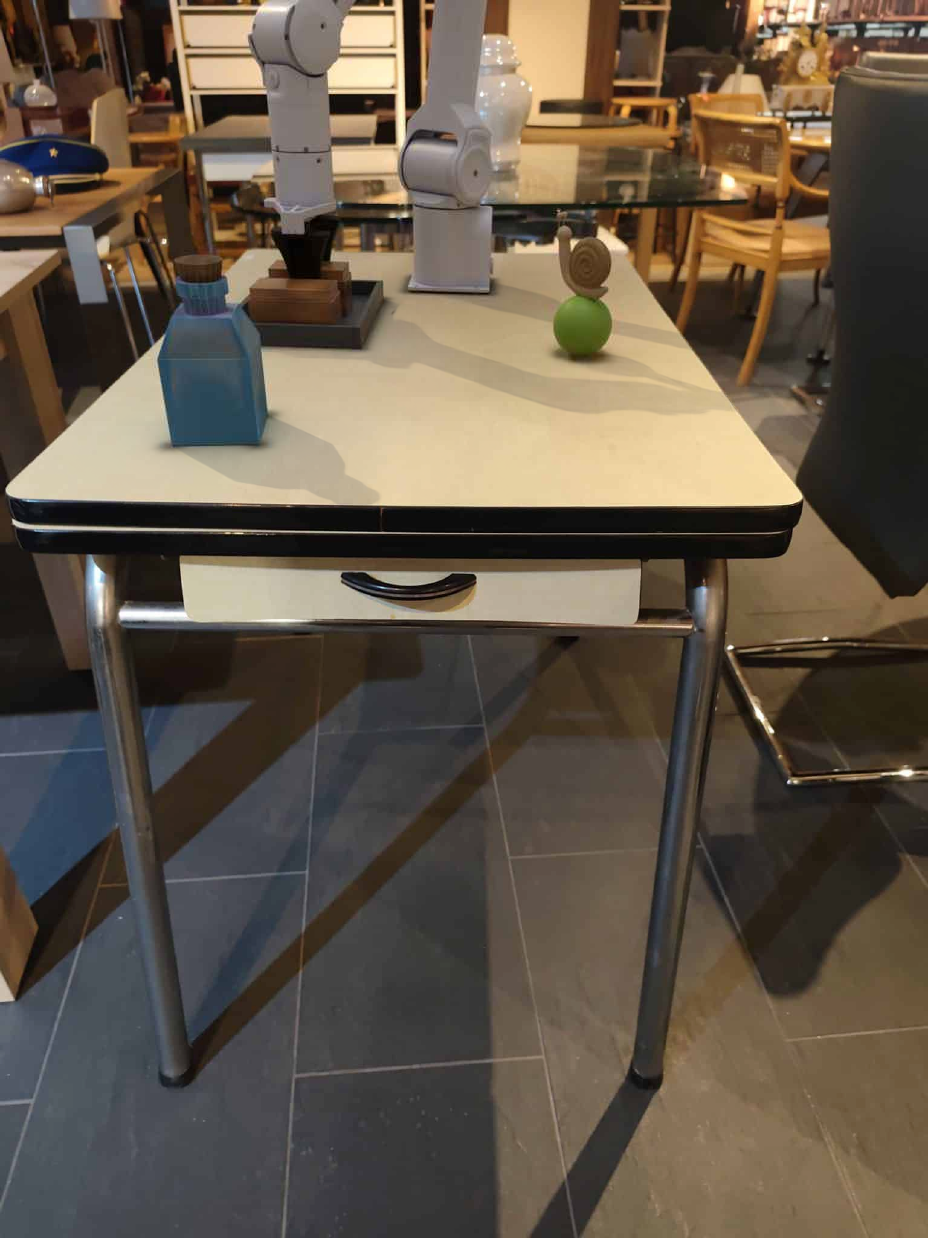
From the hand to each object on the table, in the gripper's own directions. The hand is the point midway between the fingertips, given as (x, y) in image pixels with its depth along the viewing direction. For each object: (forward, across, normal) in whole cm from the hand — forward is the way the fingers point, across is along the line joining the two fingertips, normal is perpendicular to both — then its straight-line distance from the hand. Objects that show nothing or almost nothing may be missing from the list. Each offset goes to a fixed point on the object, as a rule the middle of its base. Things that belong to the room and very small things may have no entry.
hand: (312, 296), depth 93 cm
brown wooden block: (+1, +8, 0) cm, 9 cm away
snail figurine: (+2, +11, +27) cm, 29 cm away
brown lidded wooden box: (+1, 0, 0) cm, 1 cm away
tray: (+2, +2, 0) cm, 3 cm away
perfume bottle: (+2, +33, -1) cm, 33 cm away
